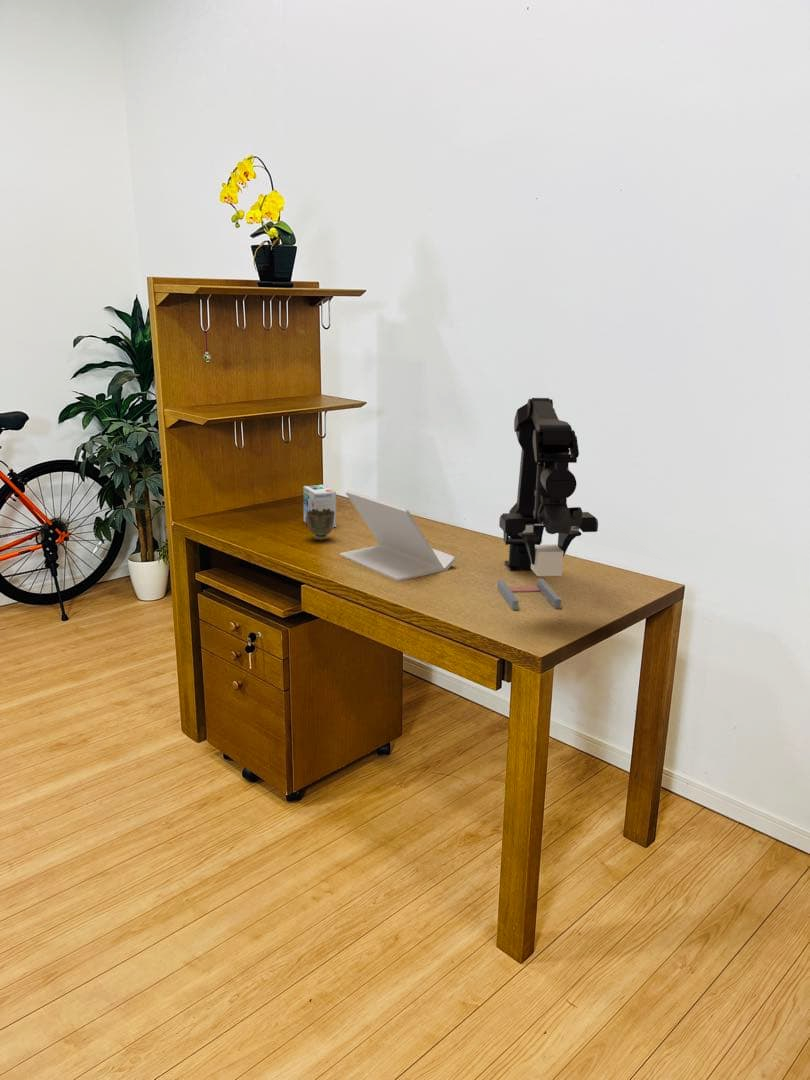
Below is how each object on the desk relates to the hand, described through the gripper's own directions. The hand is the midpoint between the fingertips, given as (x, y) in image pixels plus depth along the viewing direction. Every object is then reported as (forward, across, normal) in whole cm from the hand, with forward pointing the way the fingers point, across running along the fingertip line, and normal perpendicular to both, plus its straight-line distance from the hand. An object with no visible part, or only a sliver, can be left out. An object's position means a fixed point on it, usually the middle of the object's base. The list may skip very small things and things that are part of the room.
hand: (545, 563), depth 165 cm
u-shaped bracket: (+12, 0, +12) cm, 16 cm away
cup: (+12, -44, +61) cm, 76 cm away
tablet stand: (+12, -26, +40) cm, 49 cm away
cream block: (+2, 0, -1) cm, 2 cm away
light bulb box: (+12, -44, +78) cm, 90 cm away
